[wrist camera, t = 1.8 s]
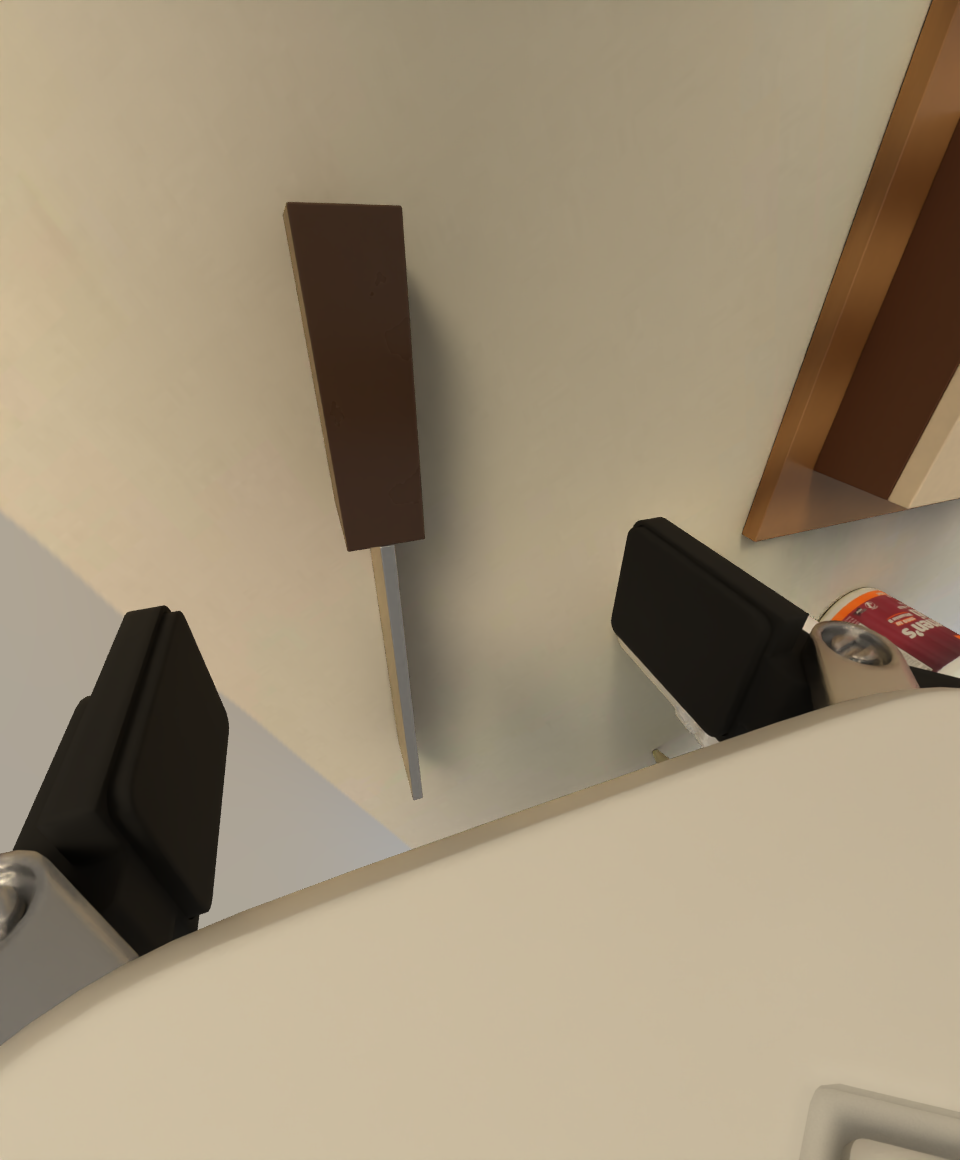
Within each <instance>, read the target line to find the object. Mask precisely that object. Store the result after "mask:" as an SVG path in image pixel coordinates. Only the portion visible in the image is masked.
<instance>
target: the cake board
mask: <svg viewBox="0 0 960 1160" xmlns="http://www.w3.org/2000/svg"><path fill="white" fill-rule="evenodd" d="M959 118H960V0H933V1H932V3H931V6H930V9H929V12H928V15H927V17H926V20H925V23H924V26H923V29H922V31H921V34H920V37H919V40H918V43H917V45H916V48H915V51H914V54H913V57H912V59H911V62H910V65H909V68H908V71H907V73H906V76H905V79H904V82H903V85H902V87H901V90H900V93H899V96H898V99H897V101H896V104H895V107H894V110H893V113H892V115H891V118H890V121H889V124H888V127H887V129H886V132H885V135H884V138H883V141H882V143H881V146H880V149H879V152H878V155H877V157H876V160H875V163H874V166H873V169H872V171H871V174H870V177H869V180H868V183H867V185H866V188H865V191H864V194H863V197H862V199H861V202H860V205H859V208H858V211H857V213H856V216H855V219H854V222H853V225H852V227H851V230H850V233H849V236H848V238H847V241H846V244H845V247H844V250H843V252H842V255H841V258H840V261H839V264H838V266H837V269H836V272H835V275H834V278H833V280H832V283H831V286H830V289H829V292H828V294H827V297H826V300H825V303H824V306H823V308H822V311H821V314H820V317H819V320H818V322H817V325H816V328H815V331H814V334H813V336H812V339H811V342H810V345H809V348H808V350H807V353H806V356H805V359H804V362H803V364H802V367H801V370H800V373H799V376H798V378H797V381H796V384H795V387H794V390H793V392H792V395H791V398H790V401H789V404H788V406H787V409H786V412H785V415H784V418H783V420H782V423H781V426H780V429H779V432H778V434H777V437H776V440H775V443H774V446H773V448H772V451H771V454H770V457H769V460H768V462H767V465H766V468H765V471H764V474H763V476H762V479H761V482H760V485H759V488H758V490H757V493H756V496H755V499H754V502H753V504H752V507H751V510H750V513H749V516H748V518H747V521H746V524H745V527H744V530H743V532H742V534H743V535H744V536H746V537H748V538H749V539H751V540H753V541H754V542H756V541H761V540H766V539H770V538H775V537H780V536H785V535H789V534H794V533H799V532H803V531H808V530H813V529H818V528H822V527H827V526H832V525H837V524H841V523H846V522H851V521H856V520H860V519H865V518H870V517H874V516H879V515H884V514H889V513H893V512H898V511H903V510H908V509H907V508H904V507H902V506H900V505H897V504H895V503H892V502H890V501H888V500H885V499H882V498H880V497H877V496H875V495H872V494H870V493H867V492H865V491H863V490H860V489H858V488H855V487H853V486H850V485H848V484H845V483H843V482H841V481H838V480H836V479H833V478H831V477H828V476H826V475H823V474H821V473H818V472H816V471H814V470H813V469H814V466H815V464H816V461H817V459H818V457H819V454H820V452H821V449H822V447H823V445H824V442H825V440H826V437H827V435H828V433H829V430H830V428H831V425H832V423H833V421H834V418H835V416H836V413H837V411H838V409H839V406H840V404H841V401H842V399H843V397H844V394H845V392H846V389H847V387H848V385H849V382H850V380H851V377H852V375H853V373H854V370H855V368H856V366H857V363H858V361H859V358H860V356H861V354H862V351H863V349H864V346H865V344H866V342H867V339H868V337H869V334H870V332H871V330H872V327H873V325H874V322H875V320H876V318H877V315H878V313H879V310H880V308H881V306H882V303H883V301H884V298H885V296H886V294H887V291H888V289H889V286H890V284H891V282H892V279H893V277H894V274H895V272H896V270H897V267H898V265H899V262H900V260H901V258H902V255H903V253H904V250H905V248H906V246H907V243H908V241H909V238H910V236H911V234H912V231H913V229H914V226H915V224H916V222H917V219H918V217H919V214H920V212H921V210H922V207H923V205H924V202H925V200H926V198H927V195H928V193H929V190H930V188H931V186H932V183H933V181H934V178H935V176H936V174H937V171H938V169H939V166H940V164H941V162H942V159H943V157H944V154H945V152H946V150H947V147H948V145H949V142H950V140H951V138H952V135H953V133H954V130H955V128H956V126H957V123H958V121H959ZM958 499H960V498H958ZM953 500H955V499H953ZM948 501H950V500H948ZM943 502H945V501H943ZM939 503H941V502H939ZM934 504H936V503H934ZM929 505H931V504H929ZM925 506H926V505H925ZM920 507H922V506H920ZM915 508H917V507H915ZM910 509H912V508H910Z"/></svg>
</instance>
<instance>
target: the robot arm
mask: <svg viewBox="0 0 960 1160" xmlns="http://www.w3.org/2000/svg"><path fill="white" fill-rule="evenodd" d="M808 616H809V614H808V613H806V612H805V611H803V610H802V609H800V608H799V607H797V606H796V605H794V604H793V603H791V602H790V601H788V600H787V599H785V598H784V597H782V596H781V595H779V594H778V593H776V592H775V591H773V590H772V589H770V588H769V587H767V586H766V585H764V584H763V583H761V582H760V581H758V580H757V579H755V578H754V577H752V576H751V575H749V574H748V573H746V572H745V571H743V570H742V569H740V568H739V567H737V566H736V565H734V564H733V563H731V562H730V561H728V560H727V559H725V558H724V557H722V556H721V555H719V554H718V553H716V552H715V551H713V550H712V549H710V548H709V547H707V546H706V545H704V544H703V543H701V542H700V541H698V540H697V539H695V538H694V537H692V536H691V535H689V534H688V533H686V532H685V531H683V530H682V529H680V528H679V527H677V526H676V525H674V524H673V523H671V522H670V521H668V520H667V519H665V518H663V517H657V518H651V519H646V520H640V521H638V522H636V523H635V525H634V526H633V528H632V529H630V531H629V532H628V535H627V540H626V546H625V551H624V556H623V561H622V566H621V571H620V576H619V582H618V587H617V592H616V597H615V602H614V607H613V612H612V618H611V624H612V628H613V630H614V632H615V633H616V635H617V636H618V637H619V638H620V639H621V640H622V641H623V642H624V644H625V645H626V646H627V647H628V648H629V649H630V650H631V651H632V652H633V653H634V655H635V656H636V657H637V658H638V659H639V660H640V661H641V662H642V663H643V664H644V666H645V667H646V668H647V669H648V670H649V671H650V672H651V673H652V674H653V676H654V677H655V678H656V679H657V680H658V681H659V682H660V683H661V684H662V685H663V687H664V688H665V689H666V690H667V691H668V692H669V693H670V694H671V695H672V696H673V698H674V699H675V700H676V701H677V702H678V703H679V704H680V705H681V706H682V707H683V709H684V710H685V711H686V712H687V713H688V714H689V715H690V716H691V717H692V719H693V720H694V721H695V722H696V723H697V724H698V725H699V726H700V727H701V728H702V730H703V731H704V732H705V733H706V734H708V735H709V736H711V737H715V738H716V739H717V740H718V741H719V742H718V743H716V744H713V745H710V746H707V747H704V748H701V749H698V750H695V751H692V752H689V753H686V754H683V755H680V756H677V757H675V758H672V759H669V760H666V761H663V762H660V763H657V764H654V765H651V766H649V767H646V768H643V769H640V770H637V771H634V772H631V773H628V774H626V775H623V776H620V777H617V778H614V779H611V780H608V781H605V782H602V783H600V784H597V785H594V786H591V787H588V788H585V789H582V790H580V791H577V792H574V793H571V794H568V795H565V796H562V797H559V798H557V799H554V800H551V801H548V802H545V803H542V804H539V805H537V806H534V807H531V808H528V809H525V810H522V811H519V812H516V813H514V814H511V815H508V816H505V817H502V818H500V819H497V820H494V821H491V822H488V823H485V824H483V825H480V826H477V827H474V828H471V829H468V830H466V831H463V832H460V833H457V834H454V835H452V836H449V837H446V838H443V839H440V840H437V841H435V842H432V843H429V844H426V845H423V846H420V847H418V848H415V849H412V850H409V851H407V852H403V853H401V854H398V855H395V856H392V857H389V858H387V859H384V860H381V861H378V862H375V863H372V864H370V865H367V866H364V867H361V868H358V869H356V870H353V871H350V872H348V873H345V874H342V875H339V876H337V877H334V878H331V879H329V880H326V881H323V882H321V883H318V884H315V885H313V886H310V887H307V888H304V889H302V890H299V891H296V892H294V893H291V894H288V895H286V896H283V897H281V898H278V899H275V900H273V901H270V902H267V903H264V904H261V905H259V906H256V907H253V908H251V909H248V910H245V911H243V912H240V913H238V914H235V915H233V916H231V917H228V918H226V919H223V920H221V921H218V922H216V923H214V924H212V925H209V926H206V927H204V928H202V929H199V930H198V921H199V915H200V914H203V913H206V912H208V911H209V909H210V907H211V904H212V897H213V886H214V877H215V866H216V856H217V846H218V836H219V825H220V816H221V806H222V795H223V785H224V775H225V764H226V755H227V745H228V735H229V723H228V717H227V713H226V711H225V708H224V706H223V704H222V701H221V699H220V697H219V695H218V692H217V690H216V688H215V685H214V683H213V681H212V678H211V676H210V674H209V671H208V669H207V667H206V665H205V662H204V660H203V658H202V655H201V653H200V651H199V649H198V646H197V644H196V642H195V639H194V637H193V635H192V632H191V630H190V628H189V626H188V623H187V621H186V619H185V617H184V615H183V613H182V612H181V611H176V612H171V611H170V609H169V608H168V607H167V606H165V605H164V606H158V607H153V608H147V609H141V610H136V611H130V612H127V613H126V615H125V616H124V618H123V621H122V623H121V626H120V628H119V630H118V633H117V635H116V638H115V640H114V642H113V645H112V647H111V649H110V652H109V654H108V656H107V659H106V661H105V664H104V666H103V668H102V671H101V673H100V676H99V678H98V680H97V682H96V685H95V687H94V690H93V692H92V694H91V696H87V697H85V698H84V699H82V700H81V701H80V702H79V704H78V706H77V707H76V709H75V711H74V714H73V716H72V718H71V720H70V722H69V725H68V727H67V729H66V731H65V734H64V736H63V738H62V741H61V743H60V745H59V747H58V750H57V752H56V754H55V757H54V758H53V761H52V763H51V765H50V768H49V770H48V772H47V774H46V776H45V779H44V781H43V783H42V785H41V788H40V790H39V792H38V794H37V797H36V799H35V801H34V803H33V806H32V808H31V810H30V812H29V815H28V817H27V819H26V821H25V824H24V826H23V828H22V831H21V833H20V835H19V837H18V839H17V842H16V844H15V846H14V849H13V851H10V852H6V853H1V854H0V1160H960V678H957V677H953V676H949V675H945V674H941V673H937V672H933V671H929V670H925V669H921V668H917V667H913V666H909V665H908V664H907V662H906V660H905V658H904V656H903V654H902V653H901V651H900V650H899V649H898V647H897V646H896V645H895V644H893V643H892V642H891V641H890V640H888V639H887V638H886V637H884V636H882V635H881V634H879V633H877V632H875V631H873V630H871V629H868V628H866V627H864V626H861V625H858V624H854V623H850V622H845V621H837V620H830V621H822V622H820V623H817V624H816V625H815V626H814V627H813V628H812V630H811V632H810V634H809V633H807V632H806V631H805V630H803V629H802V628H803V626H804V624H805V622H806V620H807V618H808Z"/></svg>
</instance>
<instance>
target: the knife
mask: <svg viewBox="0 0 960 1160" xmlns="http://www.w3.org/2000/svg"><path fill="white" fill-rule="evenodd" d="M283 218H284V224H285V229H286V235H287V240H288V246H289V251H290V257H291V262H292V268H293V273H294V279H295V284H296V290H297V295H298V301H299V306H300V312H301V317H302V323H303V328H304V334H305V339H306V345H307V350H308V356H309V361H310V367H311V372H312V378H313V383H314V388H315V394H316V399H317V405H318V410H319V416H320V421H321V427H322V432H323V438H324V443H325V449H326V454H327V460H328V465H329V471H330V476H331V482H332V487H333V493H334V498H335V503H336V507H337V511H338V515H339V519H340V523H341V527H342V531H343V535H344V539H345V543H346V547H347V551H349V552H350V551H356V550H362V549H368V548H370V551H371V558H372V565H373V571H374V578H375V585H376V592H377V599H378V606H379V613H380V619H381V626H382V633H383V640H384V647H385V654H386V661H387V667H388V674H389V681H390V688H391V695H392V702H393V709H394V715H395V722H396V729H397V736H398V742H399V746H400V750H401V754H402V758H403V762H404V766H405V770H406V774H407V777H408V781H409V785H410V789H411V793H412V797H413V800H417V799H420V798H423V794H422V785H421V776H420V767H419V758H418V749H417V740H416V731H415V722H414V713H413V704H412V695H411V686H410V677H409V668H408V659H407V651H406V642H405V633H404V624H403V615H402V606H401V597H400V588H399V579H398V570H397V561H396V552H395V545H394V544H398V543H404V542H409V541H415V540H421V539H425V531H424V517H423V502H422V488H421V474H420V459H419V445H418V431H417V416H416V402H415V387H414V373H413V359H412V344H411V330H410V316H409V301H408V287H407V272H406V258H405V244H404V229H403V215H402V207H401V206H399V205H367V204H335V203H303V202H287V203H286V206H285V209H284V212H283Z"/></svg>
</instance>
